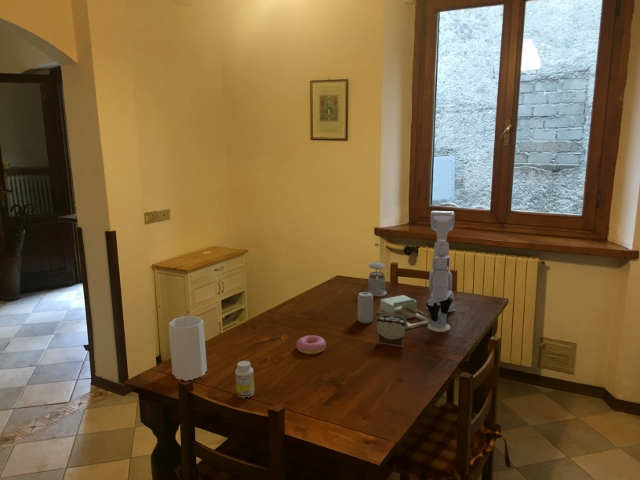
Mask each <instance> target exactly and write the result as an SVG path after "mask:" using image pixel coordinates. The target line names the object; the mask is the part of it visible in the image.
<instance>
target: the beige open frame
mask: <svg viewBox="0 0 640 480" xmlns="http://www.w3.org/2000/svg"><path fill="white" fill-rule="evenodd" d="M376 313H377V314H378V315H379V316H380V315H384V314H388V313H386V312H384V311H382V310H380V308H379V309H378V310H377V312H376ZM394 314H395V315H400V316H402V317H404V318H405V319H406V320H407V319H411V318H416V319H418V320H420V321H419V322H414V323H410V322H408V321H407V327H405V330H409V329H413V328H417V327H423V326H425V325H427V326H428V324H429V323H431V316H430V315H428V314H426V312H423V311H421V310H419V309H417V312H414V311H412V310H410V309H408V308H406V307H404V306H397V307H394Z"/></svg>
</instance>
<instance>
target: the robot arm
mask: <svg viewBox="0 0 640 480" xmlns="http://www.w3.org/2000/svg"><path fill="white" fill-rule="evenodd" d="M455 213H456V212H454V210H452V211H448V210H446V211H445V210H444V211H443V210H432V211H430V227H431V230H433V231H434V232H435V233H436V241H435V242H434V248H433V257H432V266H431V267H432V270H431V271H430V272H429V275H428V276H429V277H428V289H429V290H430V291H431V292H430V298H429V299H428V301H427V302H426V303H425V306H426V309H427V310H428V312H429V314H430V315H429V316H431V320H432V321H435V322H436V321H437V319H438V313H439V312H440V313H444V314H447V315H448V313H450V312H455V311H456V309H455V294H454V292H453V291H452V289H453V274H452V272H451V271H450V265H451V264H450V263H451V259H450V253H449V252H450V244H449V242H448V234H449V232H451V231H453V229H454V227H455V216H456V215H455Z"/></svg>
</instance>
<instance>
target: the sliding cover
mask: <svg viewBox="0 0 640 480" xmlns="http://www.w3.org/2000/svg"><path fill="white" fill-rule="evenodd" d="M379 304H380V308H379V309H380V310H382V311H384V312H386V313H388V314H394V308H395V307H400V306H404V307H406V308H408V309H410V310H412V311H414V312H417V310H418V309H417V304H418V301H417V300H416V299H415V298H412V297H411V298H410V297H408V296H406V295H404V294H402V295H397V296H392V297H387V298H381V299H380V303H379Z"/></svg>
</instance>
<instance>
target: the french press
mask: <svg viewBox="0 0 640 480" xmlns="http://www.w3.org/2000/svg"><path fill="white" fill-rule="evenodd" d="M374 246H375V247H378V246H380V244H379V243H378V242H376V243H375V244H374ZM368 268H370V269H374V270H378V271H372V272H370V273H369V276H368V291H367V292H369V293H372V296H373V297H382V296H383V297H384V296H385V295H387V293H388V292H387V291H386V276H385V273H384V272H381V271H380V270H381V269H385V268H386V265H385V264H384V263H382V262H378V261H376V262H372V263H370V264H369V265H368Z"/></svg>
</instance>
